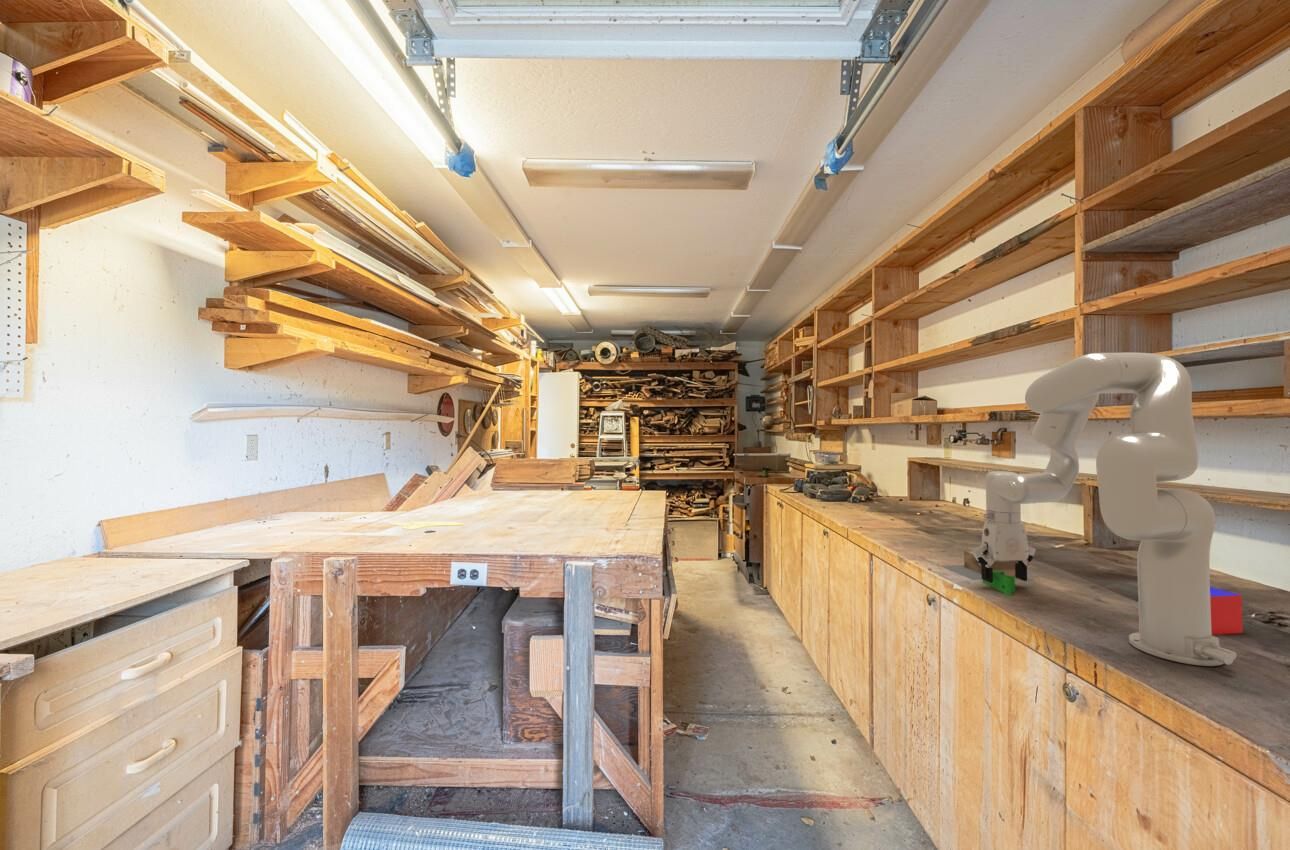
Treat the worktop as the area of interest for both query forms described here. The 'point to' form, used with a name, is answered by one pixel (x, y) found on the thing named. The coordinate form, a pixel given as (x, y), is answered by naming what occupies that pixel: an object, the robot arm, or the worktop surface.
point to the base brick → (996, 566)
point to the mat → (971, 572)
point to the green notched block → (1002, 582)
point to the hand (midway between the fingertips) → (1004, 580)
